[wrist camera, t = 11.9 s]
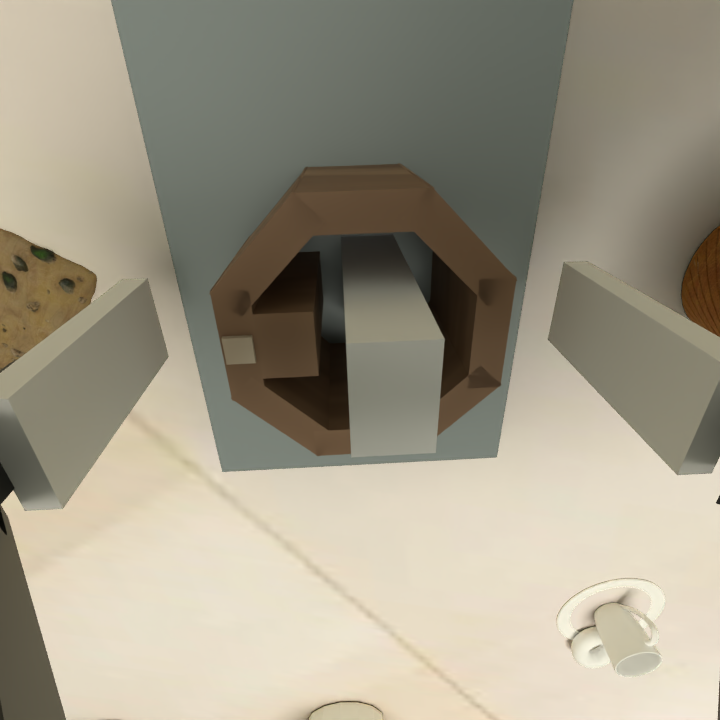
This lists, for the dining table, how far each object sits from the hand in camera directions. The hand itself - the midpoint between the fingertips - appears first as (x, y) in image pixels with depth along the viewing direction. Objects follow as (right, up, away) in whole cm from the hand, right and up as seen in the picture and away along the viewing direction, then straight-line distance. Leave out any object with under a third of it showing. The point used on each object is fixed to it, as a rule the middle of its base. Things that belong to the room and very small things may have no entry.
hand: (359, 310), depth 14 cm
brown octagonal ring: (0, +2, +3) cm, 4 cm away
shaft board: (0, +2, +5) cm, 5 cm away
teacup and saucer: (+16, -21, +19) cm, 33 cm away
